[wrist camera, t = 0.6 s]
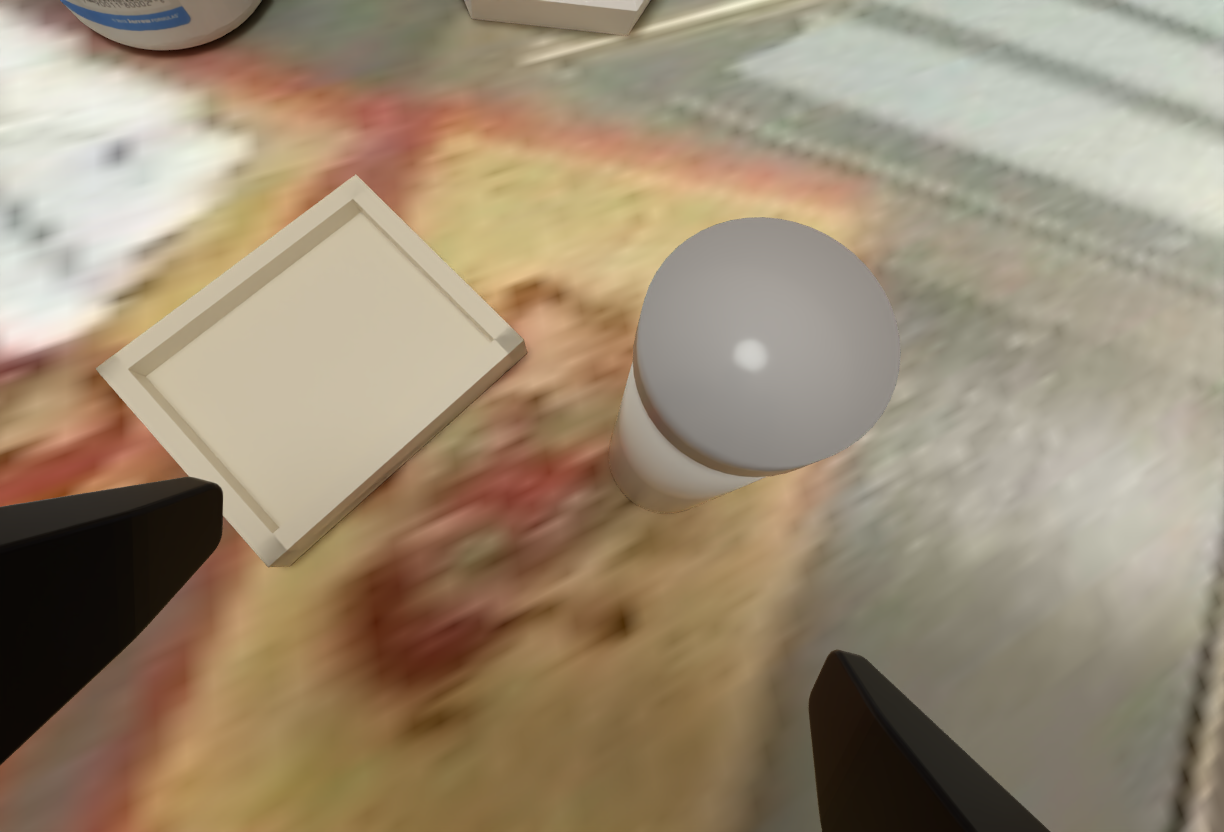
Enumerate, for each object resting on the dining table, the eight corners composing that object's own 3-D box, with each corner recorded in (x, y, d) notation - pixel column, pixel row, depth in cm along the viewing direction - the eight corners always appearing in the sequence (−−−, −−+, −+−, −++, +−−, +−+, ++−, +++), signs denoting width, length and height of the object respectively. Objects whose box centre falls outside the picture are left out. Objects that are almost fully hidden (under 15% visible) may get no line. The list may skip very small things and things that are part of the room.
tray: (289, 566, 21) (267, 567, 20) (126, 380, 22) (95, 368, 21) (527, 353, 24) (523, 339, 22) (368, 196, 25) (355, 174, 24)
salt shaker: (668, 541, 22) (785, 524, 10) (581, 454, 23) (584, 331, 10) (749, 455, 23) (951, 338, 11) (663, 374, 24) (759, 171, 11)
